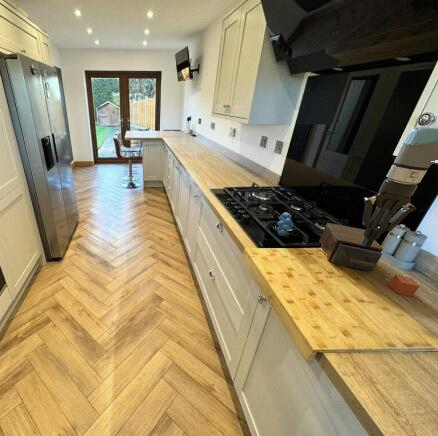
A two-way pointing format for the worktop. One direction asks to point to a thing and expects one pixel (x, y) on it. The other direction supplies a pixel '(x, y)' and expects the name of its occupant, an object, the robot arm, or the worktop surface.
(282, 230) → the grapes
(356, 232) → the cabinet
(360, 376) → the worktop surface
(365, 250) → the drawer
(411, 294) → the block
